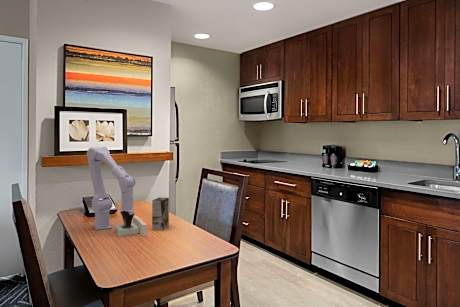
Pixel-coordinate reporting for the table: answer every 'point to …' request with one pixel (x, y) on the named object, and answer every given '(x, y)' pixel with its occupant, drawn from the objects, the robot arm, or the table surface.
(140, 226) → the board
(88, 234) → the table surface
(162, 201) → the coffee box
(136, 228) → the socket block
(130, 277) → the table surface
